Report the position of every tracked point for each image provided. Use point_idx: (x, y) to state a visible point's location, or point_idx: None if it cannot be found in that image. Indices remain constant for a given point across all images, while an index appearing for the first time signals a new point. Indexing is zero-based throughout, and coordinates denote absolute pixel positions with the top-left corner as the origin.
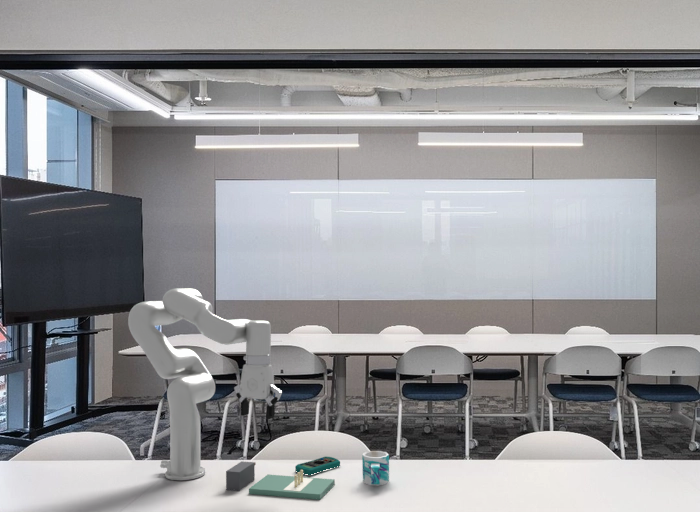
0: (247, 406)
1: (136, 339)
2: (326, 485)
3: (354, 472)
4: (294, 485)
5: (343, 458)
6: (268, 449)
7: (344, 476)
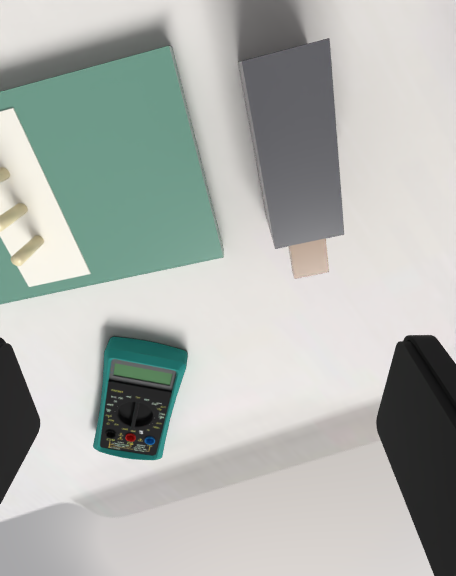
0: (417, 497)
1: None
2: None
3: None
4: (21, 184)
5: (143, 483)
6: None
7: None
